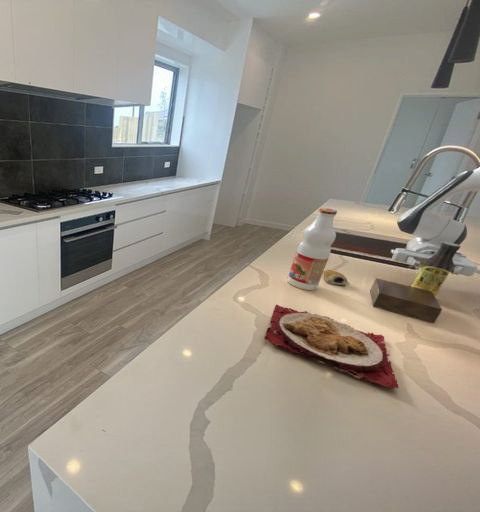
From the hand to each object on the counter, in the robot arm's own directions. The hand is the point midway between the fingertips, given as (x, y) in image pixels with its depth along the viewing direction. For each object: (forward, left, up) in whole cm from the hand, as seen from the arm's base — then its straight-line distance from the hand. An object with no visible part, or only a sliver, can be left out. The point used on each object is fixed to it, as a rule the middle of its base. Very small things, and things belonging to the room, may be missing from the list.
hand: (435, 268), depth 100 cm
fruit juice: (+34, +19, -11) cm, 41 cm away
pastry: (+25, +7, -11) cm, 28 cm away
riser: (+7, +14, -11) cm, 19 cm away
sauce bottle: (0, 0, -11) cm, 11 cm away
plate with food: (+26, +54, -11) cm, 61 cm away
